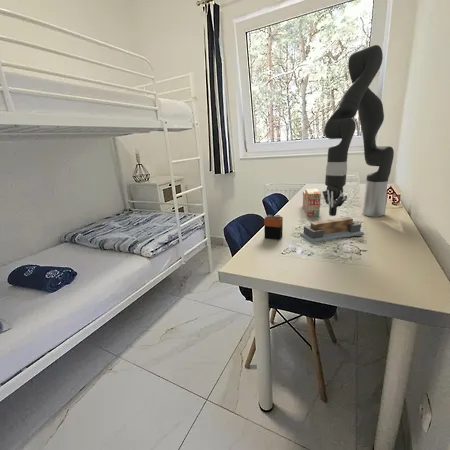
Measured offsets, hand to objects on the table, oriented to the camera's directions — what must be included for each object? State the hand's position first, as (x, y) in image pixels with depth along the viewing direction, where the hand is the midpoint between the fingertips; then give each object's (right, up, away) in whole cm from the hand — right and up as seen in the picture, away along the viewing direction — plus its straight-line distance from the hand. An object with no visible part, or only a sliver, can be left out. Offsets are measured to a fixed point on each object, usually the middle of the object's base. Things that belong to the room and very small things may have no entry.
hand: (332, 215), depth 105 cm
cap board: (+1, -8, +3) cm, 8 cm away
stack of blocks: (+4, +4, +38) cm, 38 cm away
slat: (+1, -7, +3) cm, 7 cm away
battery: (-24, -9, +3) cm, 26 cm away
